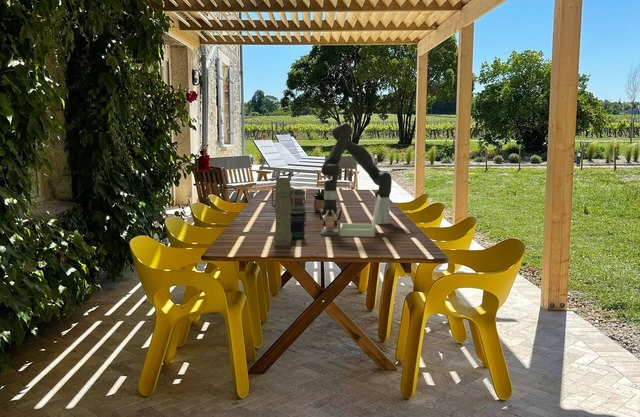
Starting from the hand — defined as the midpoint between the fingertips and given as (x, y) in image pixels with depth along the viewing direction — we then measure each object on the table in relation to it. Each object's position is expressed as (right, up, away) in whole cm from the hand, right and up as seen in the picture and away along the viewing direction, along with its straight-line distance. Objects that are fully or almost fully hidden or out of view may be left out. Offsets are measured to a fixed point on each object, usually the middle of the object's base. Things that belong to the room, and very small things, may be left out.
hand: (330, 226), depth 338 cm
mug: (-23, +9, +88) cm, 91 cm away
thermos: (-25, -8, -36) cm, 45 cm away
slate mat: (0, -3, 0) cm, 3 cm away
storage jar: (-19, -6, -19) cm, 28 cm away
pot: (0, -2, 0) cm, 2 cm away
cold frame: (+17, -4, -1) cm, 18 cm away
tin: (-22, 0, +26) cm, 34 cm away
